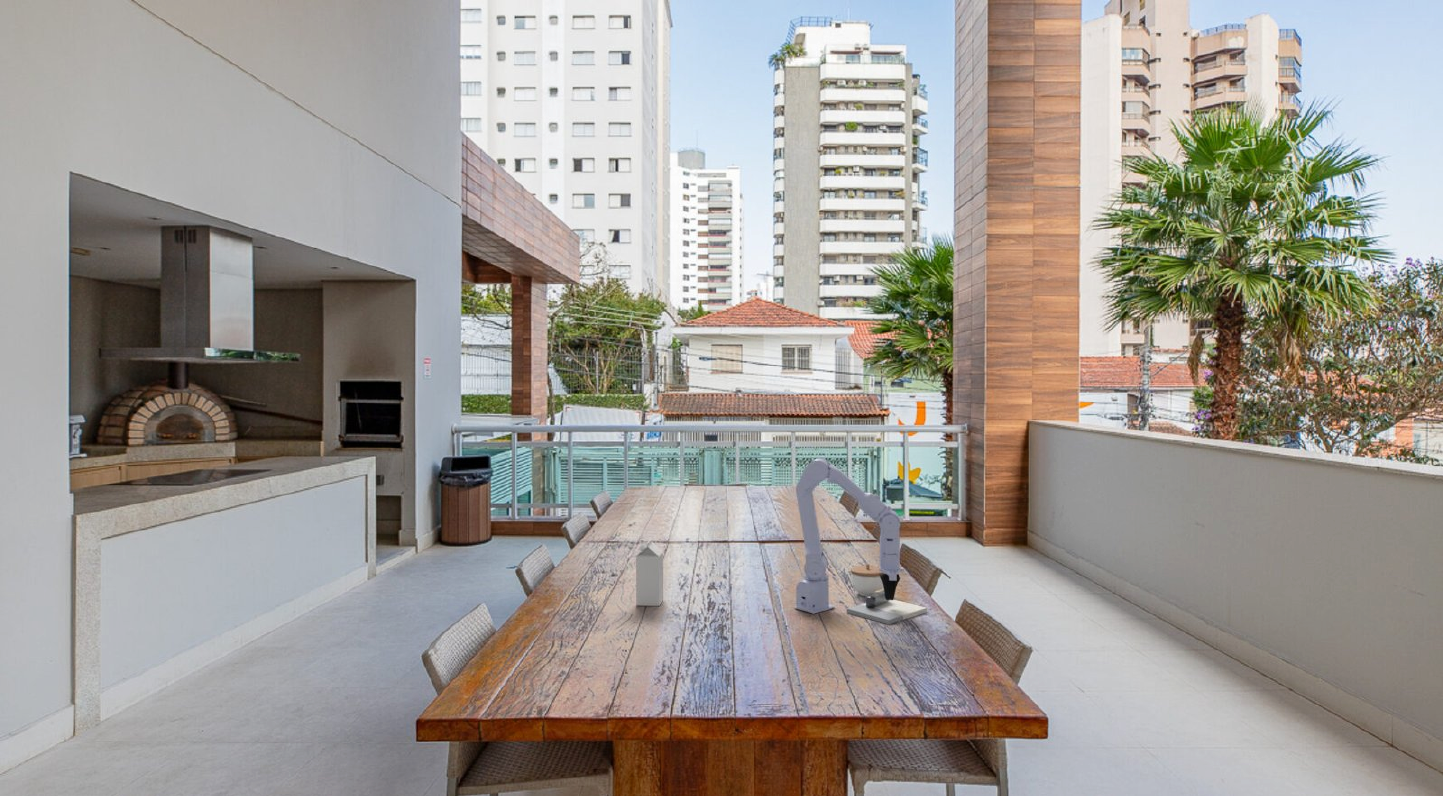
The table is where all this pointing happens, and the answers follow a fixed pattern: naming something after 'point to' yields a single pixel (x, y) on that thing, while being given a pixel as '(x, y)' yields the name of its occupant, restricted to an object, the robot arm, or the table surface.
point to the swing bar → (875, 599)
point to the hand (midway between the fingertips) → (889, 599)
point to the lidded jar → (866, 579)
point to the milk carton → (649, 575)
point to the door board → (887, 611)
